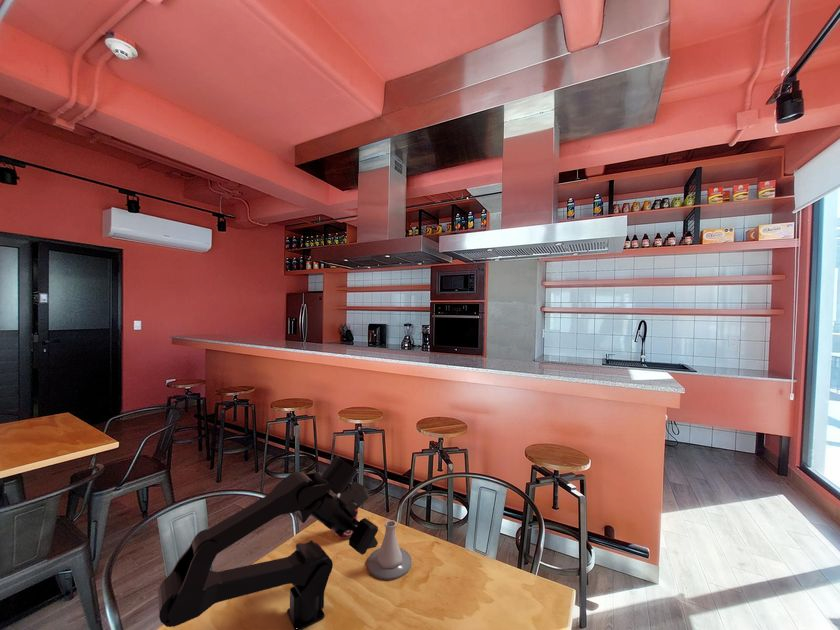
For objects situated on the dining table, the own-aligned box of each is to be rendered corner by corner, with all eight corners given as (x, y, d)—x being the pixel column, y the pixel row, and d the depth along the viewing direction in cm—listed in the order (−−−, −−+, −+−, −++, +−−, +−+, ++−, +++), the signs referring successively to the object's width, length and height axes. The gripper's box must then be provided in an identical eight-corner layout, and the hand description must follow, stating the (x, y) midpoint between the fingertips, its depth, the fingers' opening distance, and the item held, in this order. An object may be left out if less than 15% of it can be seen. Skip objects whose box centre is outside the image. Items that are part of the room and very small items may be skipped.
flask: (398, 549, 98) (398, 513, 99) (406, 565, 92) (407, 528, 92) (373, 554, 96) (374, 518, 96) (380, 572, 89) (381, 533, 89)
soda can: (362, 531, 107) (362, 493, 108) (345, 544, 101) (347, 503, 102) (345, 524, 111) (346, 487, 111) (329, 535, 105) (330, 496, 105)
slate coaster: (381, 587, 85) (381, 583, 85) (359, 559, 95) (359, 557, 95) (420, 567, 92) (420, 564, 93) (395, 543, 102) (395, 540, 102)
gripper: (372, 490, 78) (406, 520, 86) (329, 465, 91) (362, 493, 99) (341, 541, 72) (381, 568, 80) (300, 506, 85) (338, 532, 93)
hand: (365, 536), depth 88 cm, fingers open, 9 cm apart
